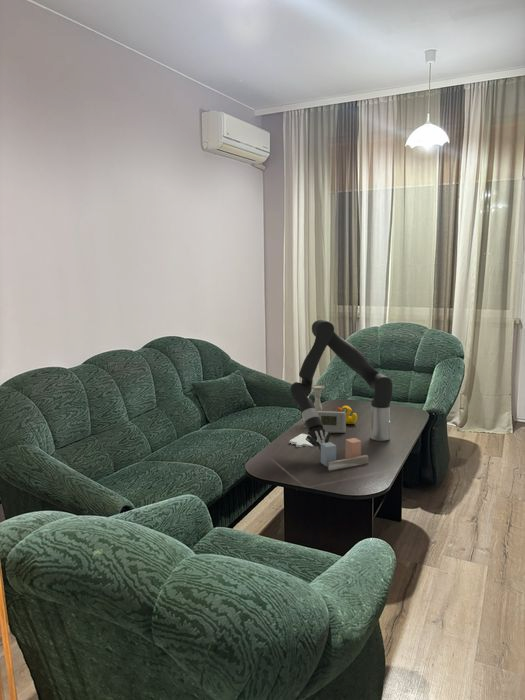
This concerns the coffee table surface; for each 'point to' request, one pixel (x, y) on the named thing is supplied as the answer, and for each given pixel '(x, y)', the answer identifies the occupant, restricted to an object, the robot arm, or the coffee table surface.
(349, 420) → the duckling
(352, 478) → the coffee table surface
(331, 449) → the grey blue rectangular block
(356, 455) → the reddish brown block
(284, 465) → the coffee table surface
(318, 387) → the candle holder
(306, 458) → the coffee table surface
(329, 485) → the coffee table surface
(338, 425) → the digital clock
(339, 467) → the wooden tray
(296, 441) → the mounting plate
